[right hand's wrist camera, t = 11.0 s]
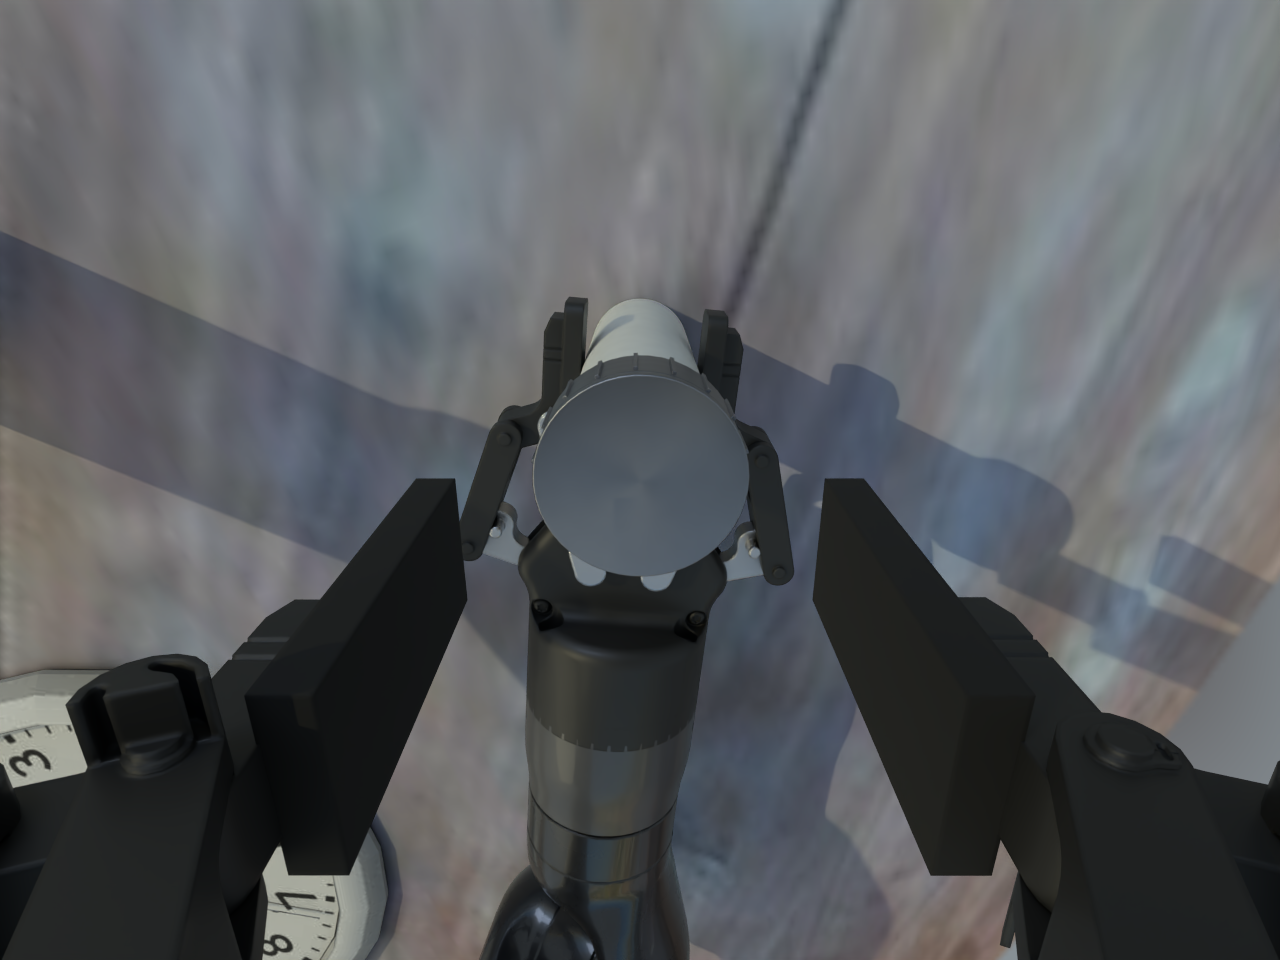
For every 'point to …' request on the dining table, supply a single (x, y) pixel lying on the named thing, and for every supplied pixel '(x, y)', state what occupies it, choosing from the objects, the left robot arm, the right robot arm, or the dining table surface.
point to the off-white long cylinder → (639, 334)
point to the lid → (640, 467)
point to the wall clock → (297, 905)
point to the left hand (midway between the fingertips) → (645, 308)
